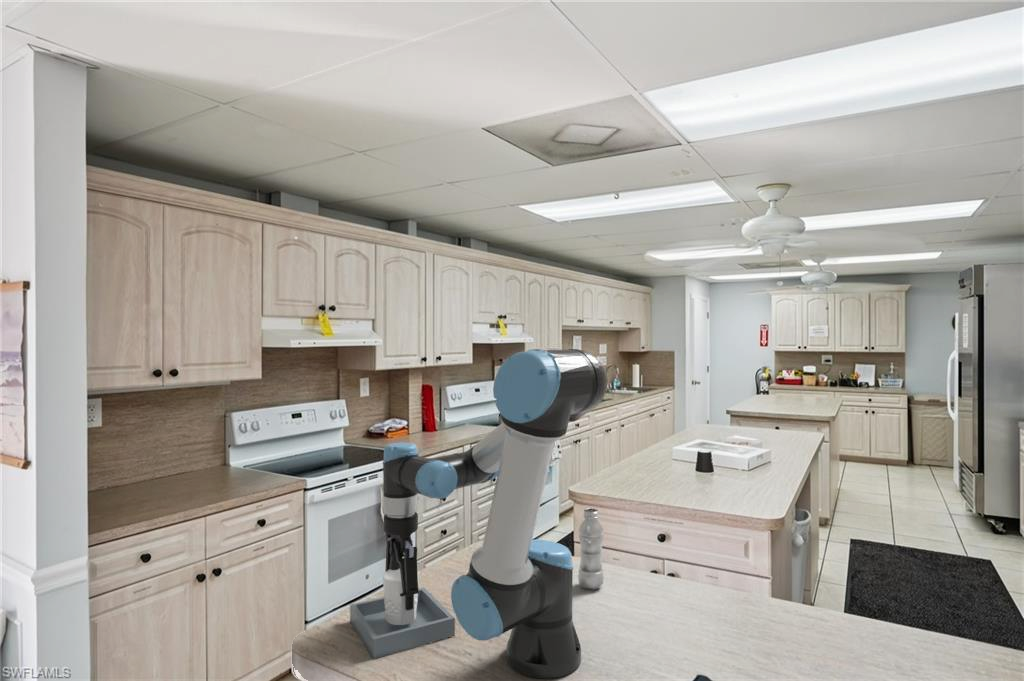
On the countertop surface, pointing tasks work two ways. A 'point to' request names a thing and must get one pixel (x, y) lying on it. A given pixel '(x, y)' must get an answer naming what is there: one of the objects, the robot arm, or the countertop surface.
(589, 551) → the plastic bottle
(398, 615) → the white cup
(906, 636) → the countertop surface
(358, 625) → the bin
